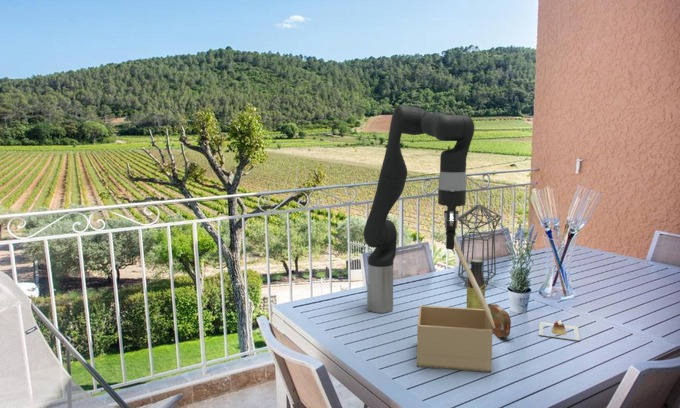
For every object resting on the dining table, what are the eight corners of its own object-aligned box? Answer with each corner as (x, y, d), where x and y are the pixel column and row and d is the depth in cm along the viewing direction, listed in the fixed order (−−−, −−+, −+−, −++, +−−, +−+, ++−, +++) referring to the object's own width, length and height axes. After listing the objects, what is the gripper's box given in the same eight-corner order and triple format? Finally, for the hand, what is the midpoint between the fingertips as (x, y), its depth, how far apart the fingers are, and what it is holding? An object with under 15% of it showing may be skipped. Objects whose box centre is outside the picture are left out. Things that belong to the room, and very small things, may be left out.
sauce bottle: (484, 318, 177) (487, 263, 174) (466, 317, 178) (468, 262, 176) (483, 312, 184) (485, 258, 181) (465, 311, 185) (467, 258, 182)
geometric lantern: (499, 283, 218) (503, 203, 212) (489, 294, 205) (492, 209, 199) (464, 277, 226) (466, 200, 220) (451, 287, 213) (454, 205, 207)
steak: (484, 323, 173) (485, 300, 171) (493, 323, 173) (494, 299, 172) (502, 342, 158) (503, 316, 157) (511, 341, 158) (513, 315, 157)
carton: (416, 367, 141) (417, 326, 139) (418, 342, 158) (419, 305, 156) (491, 373, 138) (492, 331, 136) (485, 347, 154) (486, 309, 152)
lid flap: (454, 249, 136) (456, 248, 135) (453, 238, 150) (454, 237, 150) (493, 328, 137) (495, 327, 137) (488, 309, 151) (489, 308, 151)
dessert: (539, 324, 173) (540, 311, 172) (578, 329, 168) (579, 316, 168) (538, 337, 162) (539, 323, 161) (579, 343, 157) (580, 329, 157)
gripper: (438, 185, 148) (436, 243, 150) (438, 190, 135) (436, 253, 137) (464, 185, 146) (462, 244, 149) (467, 191, 133) (464, 255, 136)
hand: (449, 248), depth 143 cm, fingers closed
